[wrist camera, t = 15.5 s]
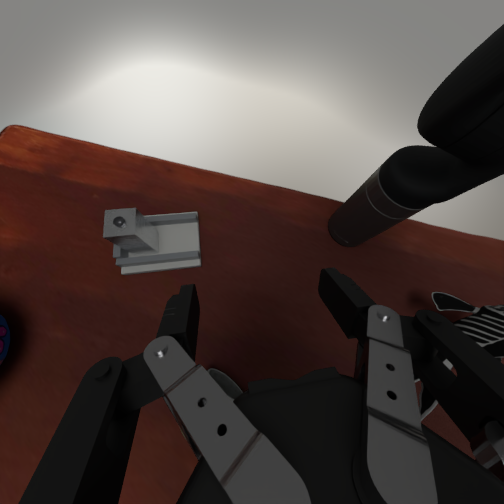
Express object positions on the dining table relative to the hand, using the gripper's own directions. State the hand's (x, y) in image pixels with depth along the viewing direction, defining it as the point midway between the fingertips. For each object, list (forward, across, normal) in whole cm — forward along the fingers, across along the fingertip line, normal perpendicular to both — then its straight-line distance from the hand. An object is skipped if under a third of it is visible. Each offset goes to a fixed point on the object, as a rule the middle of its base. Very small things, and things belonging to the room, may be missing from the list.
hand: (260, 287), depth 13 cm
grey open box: (+31, +15, +10) cm, 36 cm away
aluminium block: (+30, +18, +9) cm, 36 cm away
